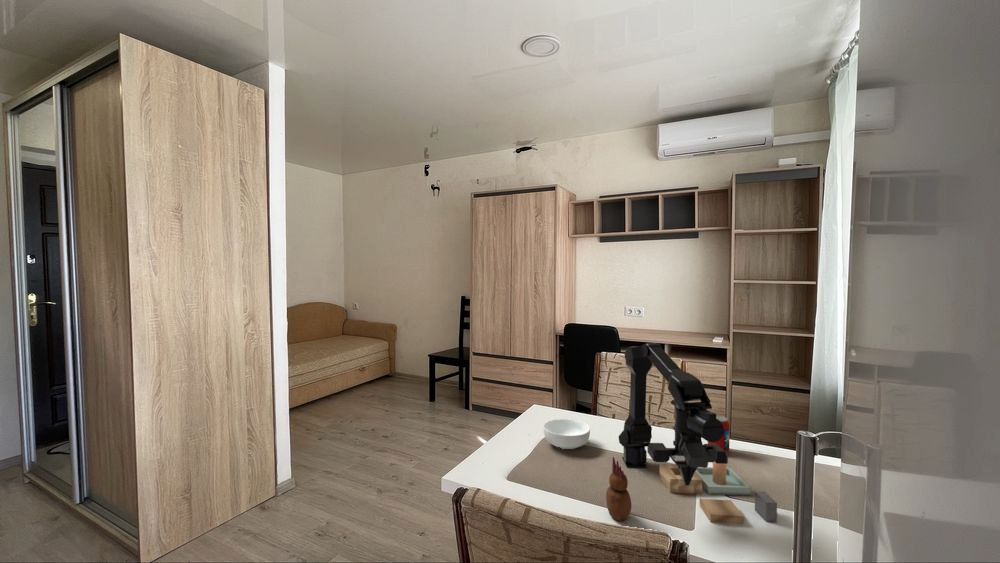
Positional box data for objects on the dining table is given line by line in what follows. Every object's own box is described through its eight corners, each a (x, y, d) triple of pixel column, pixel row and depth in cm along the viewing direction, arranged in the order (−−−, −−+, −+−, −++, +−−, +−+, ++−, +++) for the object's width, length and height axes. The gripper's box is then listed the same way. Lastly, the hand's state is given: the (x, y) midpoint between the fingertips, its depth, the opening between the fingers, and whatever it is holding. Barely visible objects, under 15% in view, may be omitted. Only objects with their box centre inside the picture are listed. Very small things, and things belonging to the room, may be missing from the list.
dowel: (725, 486, 117) (725, 456, 117) (712, 482, 119) (712, 453, 119) (726, 481, 120) (726, 451, 120) (713, 477, 122) (713, 448, 122)
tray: (708, 494, 114) (708, 486, 114) (691, 473, 126) (691, 466, 126) (750, 495, 114) (750, 487, 114) (729, 474, 125) (729, 467, 125)
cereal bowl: (596, 442, 150) (596, 423, 150) (580, 460, 136) (580, 439, 136) (554, 432, 159) (554, 415, 159) (535, 448, 145) (535, 429, 145)
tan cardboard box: (710, 523, 102) (710, 514, 102) (699, 507, 109) (699, 498, 109) (743, 525, 101) (743, 516, 101) (730, 509, 108) (730, 500, 108)
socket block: (670, 492, 115) (670, 479, 115) (659, 476, 124) (659, 464, 124) (702, 493, 115) (702, 479, 115) (689, 477, 124) (689, 464, 124)
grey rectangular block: (766, 521, 102) (766, 502, 102) (754, 510, 107) (755, 491, 107) (776, 522, 101) (776, 502, 101) (764, 510, 106) (765, 491, 106)
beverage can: (732, 456, 137) (732, 422, 137) (711, 455, 139) (711, 421, 138) (725, 448, 144) (725, 415, 143) (705, 446, 145) (705, 414, 145)
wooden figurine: (603, 509, 108) (603, 454, 107) (623, 508, 108) (623, 453, 108) (612, 525, 101) (612, 466, 100) (634, 523, 101) (634, 465, 101)
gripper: (660, 438, 97) (660, 501, 98) (740, 439, 96) (739, 503, 97) (646, 421, 108) (646, 477, 109) (717, 422, 107) (717, 479, 108)
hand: (686, 484), depth 105 cm, fingers closed
